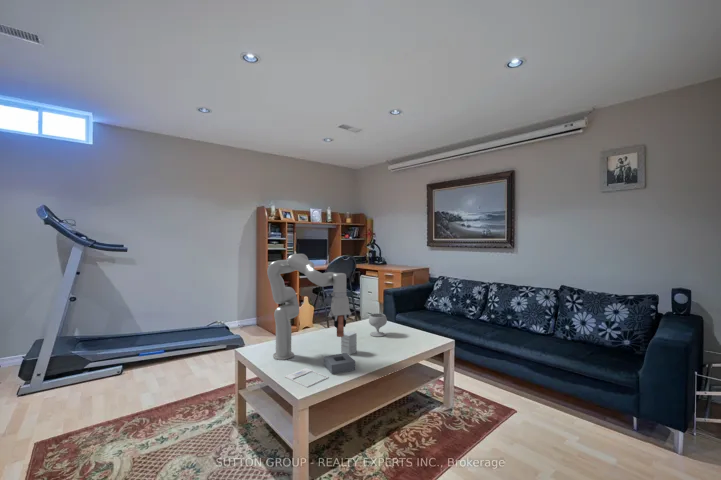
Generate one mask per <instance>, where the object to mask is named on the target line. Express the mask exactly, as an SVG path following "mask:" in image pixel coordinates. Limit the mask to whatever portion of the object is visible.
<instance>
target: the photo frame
mask: <svg viewBox="0 0 721 480" xmlns="http://www.w3.org/2000/svg"><path fill="white" fill-rule="evenodd" d="M309 373H314V374H316V375H319V376H321V377H323V378H321V379H319V380H317V381H315V382H312V383H310V384H308V385H307V384H304V383H303V382H300V381H298V380H295V379H297V378H300V377H302V376H304V375H308V374H309ZM284 378H286V379H288V380H290V381H292V382H294V383H296V384H298V385H301V386H302V387H305V388H310V387H311V386H315V385H316V384H319V383H321V382H323V381H324V380H327V379H329V376H327V375H325V374H323V373H320V372H318V371H315V370H313V369H310V368H307V367H305V368H302V369H300V370H297V371H295V372H294V371H293V372H292V373H290V374H287V375H285V376H284Z"/></svg>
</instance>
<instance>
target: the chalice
mask: <svg viewBox="0 0 721 480" xmlns="http://www.w3.org/2000/svg"><path fill="white" fill-rule="evenodd" d="M368 323H369V325H370V326H372V327H374V328H375V330H376V331H372V332H370V333H369V335H370V336H372V337H379V338H380V337H385V336H386V335H387V334H386V333H385V332H383V331H380V328H382V327H384V326H386V324H387V323H388V319H387V316H386V314H384V313H372V314H370V315H369V317H368Z"/></svg>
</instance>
